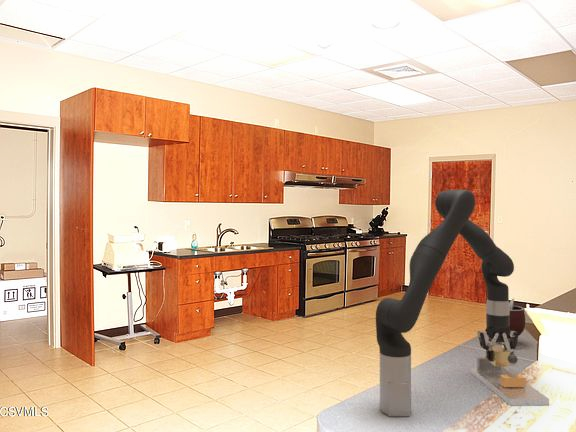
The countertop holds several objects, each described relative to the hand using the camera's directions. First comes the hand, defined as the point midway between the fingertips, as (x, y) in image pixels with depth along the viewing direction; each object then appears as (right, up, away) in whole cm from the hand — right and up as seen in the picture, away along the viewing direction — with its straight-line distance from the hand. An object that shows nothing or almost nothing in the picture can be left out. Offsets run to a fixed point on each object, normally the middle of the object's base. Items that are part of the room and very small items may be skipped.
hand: (498, 360), depth 165 cm
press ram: (0, -5, -10) cm, 12 cm away
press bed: (0, -7, -6) cm, 9 cm away
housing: (0, -1, 0) cm, 1 cm away
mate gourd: (+26, -8, +46) cm, 53 cm away
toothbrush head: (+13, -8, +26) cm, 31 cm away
